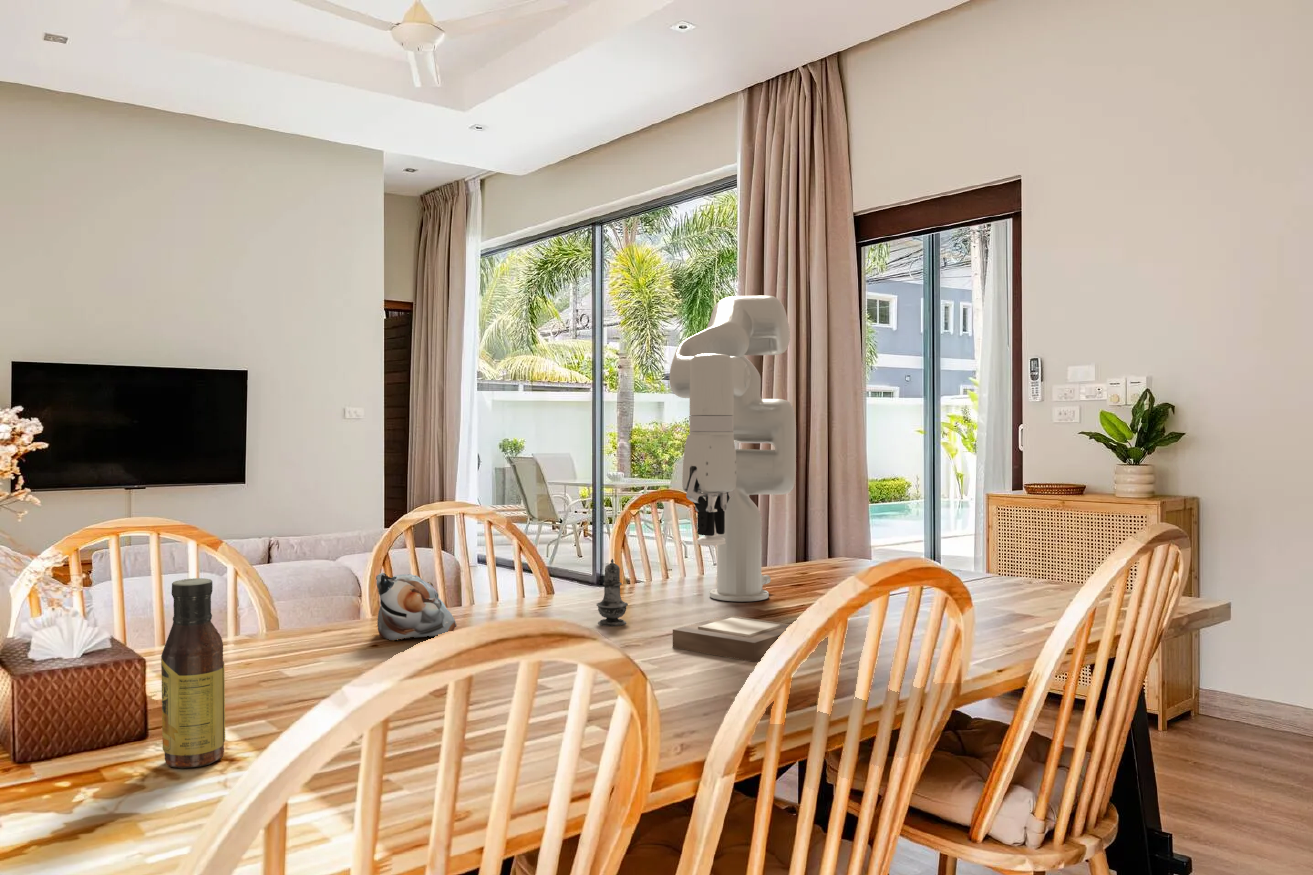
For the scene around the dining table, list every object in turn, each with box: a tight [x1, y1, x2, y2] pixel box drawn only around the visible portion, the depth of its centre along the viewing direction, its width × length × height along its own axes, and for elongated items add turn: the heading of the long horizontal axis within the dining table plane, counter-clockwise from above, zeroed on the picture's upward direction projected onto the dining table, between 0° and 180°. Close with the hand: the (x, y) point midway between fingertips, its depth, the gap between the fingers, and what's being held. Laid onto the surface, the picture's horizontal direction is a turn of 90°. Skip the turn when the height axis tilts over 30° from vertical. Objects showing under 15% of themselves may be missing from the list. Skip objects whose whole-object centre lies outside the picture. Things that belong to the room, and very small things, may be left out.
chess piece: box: [696, 493, 726, 546], centre depth 170 cm, size 5×5×10 cm
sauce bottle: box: [160, 577, 226, 769], centre depth 109 cm, size 6×6×20 cm
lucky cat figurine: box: [375, 572, 458, 641], centre depth 172 cm, size 15×12×14 cm
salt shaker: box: [595, 558, 629, 627], centre depth 185 cm, size 6×6×12 cm
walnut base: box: [672, 614, 791, 663], centre depth 166 cm, size 16×16×3 cm
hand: (711, 533), depth 170 cm, fingers closed on chess piece
